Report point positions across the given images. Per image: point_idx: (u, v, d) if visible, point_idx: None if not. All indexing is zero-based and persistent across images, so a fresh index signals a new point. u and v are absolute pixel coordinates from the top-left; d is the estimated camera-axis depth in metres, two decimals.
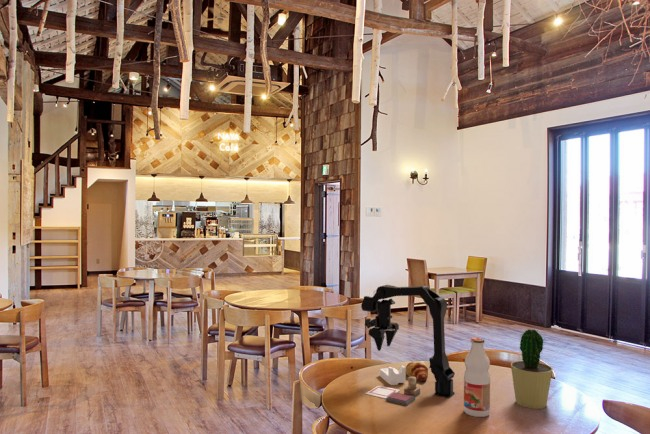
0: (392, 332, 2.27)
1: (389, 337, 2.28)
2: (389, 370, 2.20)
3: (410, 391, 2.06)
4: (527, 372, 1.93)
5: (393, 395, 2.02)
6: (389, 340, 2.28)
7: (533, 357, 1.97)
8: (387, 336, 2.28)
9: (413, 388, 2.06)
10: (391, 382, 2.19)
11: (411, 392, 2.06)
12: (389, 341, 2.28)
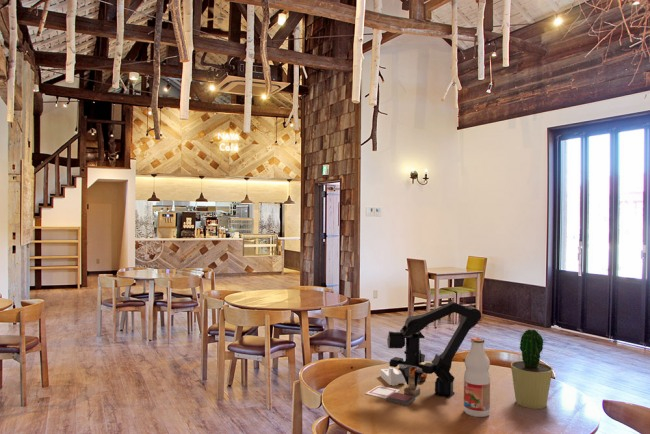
0: None
1: None
2: (389, 370, 2.20)
3: (410, 391, 2.06)
4: (527, 372, 1.93)
5: (393, 395, 2.02)
6: None
7: (533, 357, 1.97)
8: None
9: (413, 388, 2.06)
10: (391, 382, 2.19)
11: (411, 392, 2.06)
12: None
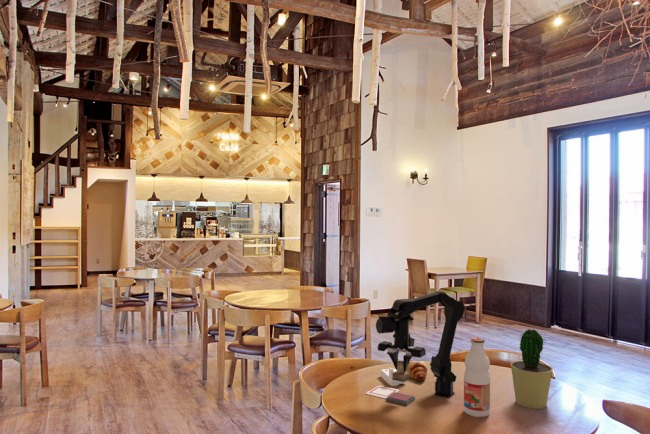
0: None
1: None
2: (389, 371, 2.19)
3: (398, 376, 1.99)
4: (527, 372, 1.93)
5: (393, 395, 2.02)
6: None
7: (533, 357, 1.97)
8: None
9: (402, 372, 2.00)
10: (391, 383, 2.18)
11: (399, 377, 1.99)
12: None
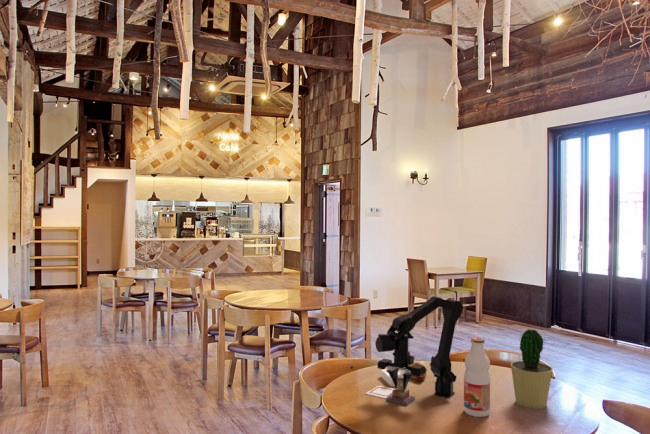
0: None
1: None
2: None
3: (398, 393, 1.99)
4: (527, 372, 1.93)
5: None
6: None
7: (533, 357, 1.97)
8: None
9: (402, 390, 2.00)
10: (392, 383, 2.18)
11: (399, 394, 1.99)
12: None
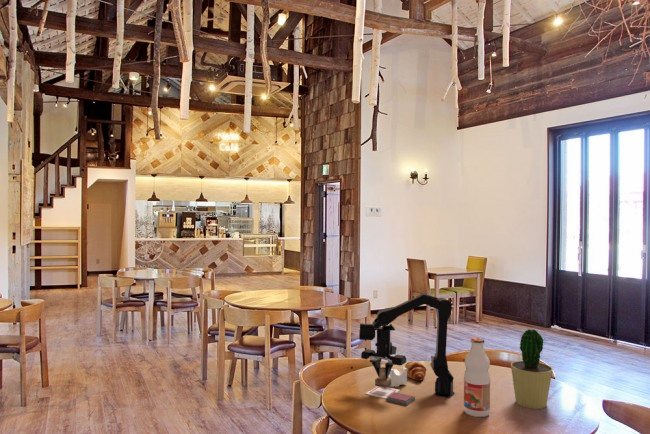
0: None
1: None
2: (390, 371, 2.18)
3: (381, 382, 2.08)
4: (527, 372, 1.93)
5: (393, 395, 2.02)
6: None
7: (533, 357, 1.97)
8: None
9: (384, 379, 2.08)
10: (392, 384, 2.17)
11: (381, 383, 2.07)
12: None
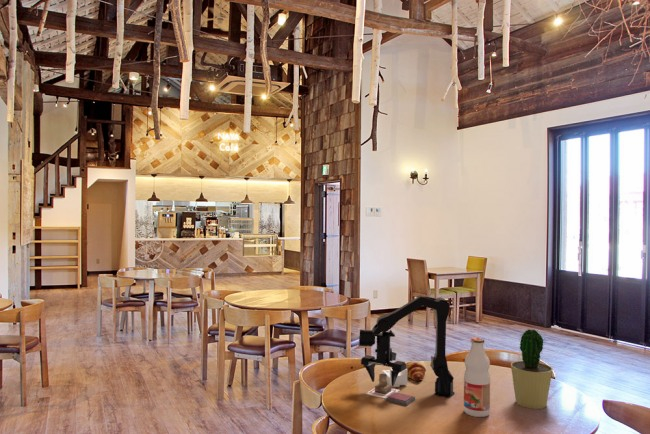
0: None
1: None
2: (390, 372, 2.18)
3: (380, 388, 2.08)
4: (527, 372, 1.93)
5: (393, 395, 2.02)
6: None
7: (533, 357, 1.97)
8: None
9: (384, 385, 2.08)
10: None
11: (381, 389, 2.07)
12: None
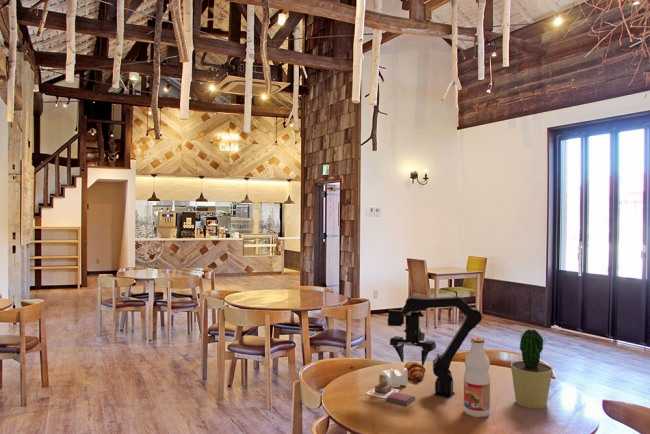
0: None
1: None
2: (391, 372, 2.18)
3: (380, 388, 2.08)
4: (527, 372, 1.93)
5: (393, 395, 2.02)
6: None
7: (533, 357, 1.97)
8: None
9: (384, 385, 2.08)
10: (392, 384, 2.16)
11: (381, 389, 2.07)
12: None
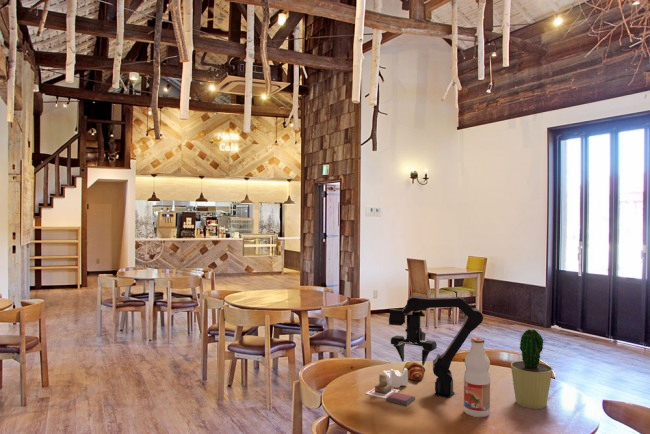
0: None
1: None
2: (391, 372, 2.17)
3: (380, 388, 2.08)
4: (527, 372, 1.93)
5: (393, 395, 2.02)
6: None
7: (533, 357, 1.97)
8: None
9: (384, 385, 2.08)
10: (393, 384, 2.16)
11: (381, 389, 2.07)
12: None
